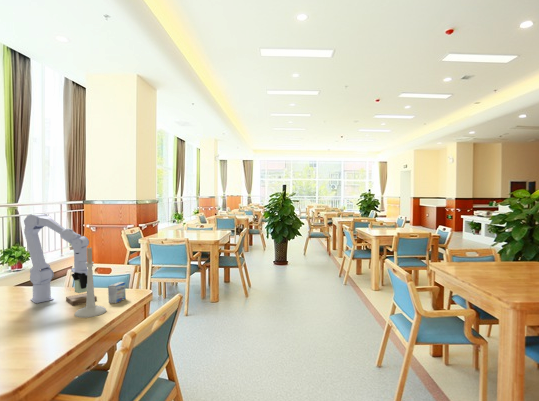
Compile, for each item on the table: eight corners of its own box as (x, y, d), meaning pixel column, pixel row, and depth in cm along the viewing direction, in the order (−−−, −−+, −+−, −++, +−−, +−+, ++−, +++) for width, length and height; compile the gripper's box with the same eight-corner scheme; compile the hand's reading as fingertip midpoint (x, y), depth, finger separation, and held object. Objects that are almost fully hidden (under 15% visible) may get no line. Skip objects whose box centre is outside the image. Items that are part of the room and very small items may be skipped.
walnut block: (66, 301, 179) (66, 296, 179) (89, 297, 186) (89, 292, 186) (72, 306, 171) (72, 301, 171) (96, 301, 179) (96, 296, 179)
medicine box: (116, 303, 174) (115, 285, 173) (108, 302, 175) (107, 285, 174) (125, 298, 181) (125, 281, 181) (118, 298, 182) (117, 281, 182)
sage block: (74, 292, 178) (74, 280, 178) (82, 290, 181) (82, 278, 181) (78, 293, 176) (78, 281, 175) (86, 291, 179) (86, 279, 179)
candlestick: (112, 309, 164) (111, 245, 164) (91, 318, 152) (89, 249, 152) (90, 307, 168) (89, 244, 168) (67, 316, 156) (66, 248, 155)
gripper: (65, 260, 179) (65, 287, 179) (80, 263, 171) (80, 291, 171) (79, 258, 185) (79, 284, 185) (94, 261, 177) (95, 288, 177)
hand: (81, 287), depth 179 cm, fingers closed on sage block, 4 cm apart
